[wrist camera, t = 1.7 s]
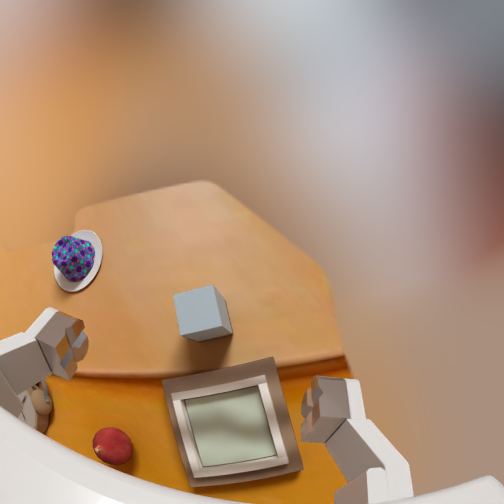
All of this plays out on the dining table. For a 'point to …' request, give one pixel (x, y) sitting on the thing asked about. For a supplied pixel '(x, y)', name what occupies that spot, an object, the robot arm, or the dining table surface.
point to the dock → (232, 424)
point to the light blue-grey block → (202, 314)
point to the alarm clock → (36, 407)
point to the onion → (112, 446)
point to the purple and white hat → (76, 259)
